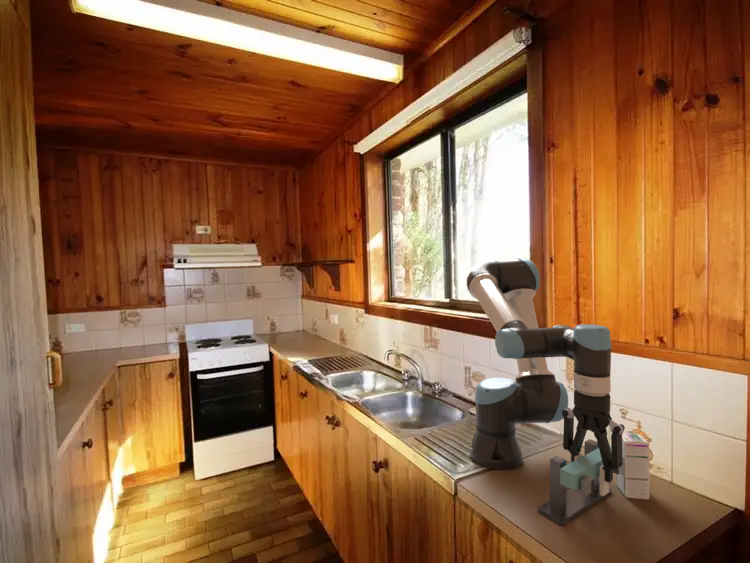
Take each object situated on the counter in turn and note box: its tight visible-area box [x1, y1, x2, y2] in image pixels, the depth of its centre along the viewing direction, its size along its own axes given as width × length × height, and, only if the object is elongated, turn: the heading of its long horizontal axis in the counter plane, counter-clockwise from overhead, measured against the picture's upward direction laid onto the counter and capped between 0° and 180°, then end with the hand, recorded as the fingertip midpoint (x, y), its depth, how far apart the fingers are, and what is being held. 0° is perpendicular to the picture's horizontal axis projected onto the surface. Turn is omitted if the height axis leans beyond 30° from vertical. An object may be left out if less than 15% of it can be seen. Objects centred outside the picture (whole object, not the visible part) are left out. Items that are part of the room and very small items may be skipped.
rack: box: [537, 438, 624, 527], centre depth 94 cm, size 10×22×13 cm, turn 123°
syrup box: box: [615, 431, 651, 500], centre depth 99 cm, size 6×6×14 cm
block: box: [560, 445, 611, 491], centre depth 93 cm, size 4×20×4 cm, turn 123°
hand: (591, 487), depth 93 cm, fingers open, 5 cm apart
